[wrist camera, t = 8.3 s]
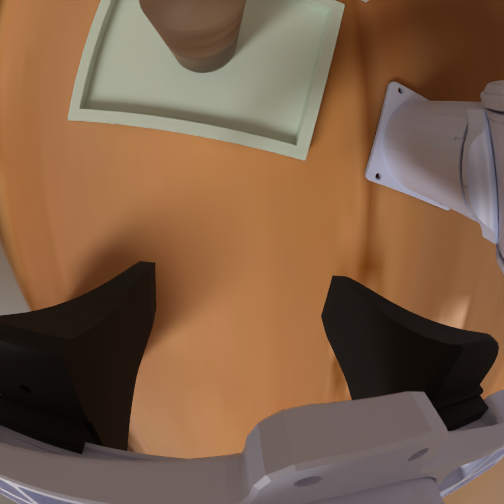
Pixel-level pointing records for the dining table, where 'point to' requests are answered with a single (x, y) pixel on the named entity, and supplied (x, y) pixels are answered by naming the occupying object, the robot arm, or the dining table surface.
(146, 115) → the sage tray
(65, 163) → the dining table surface
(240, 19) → the walnut pin
